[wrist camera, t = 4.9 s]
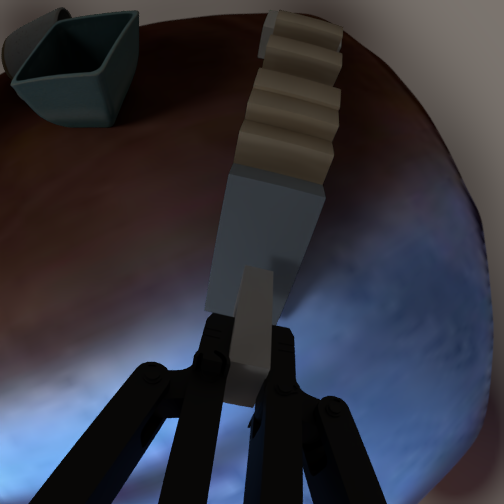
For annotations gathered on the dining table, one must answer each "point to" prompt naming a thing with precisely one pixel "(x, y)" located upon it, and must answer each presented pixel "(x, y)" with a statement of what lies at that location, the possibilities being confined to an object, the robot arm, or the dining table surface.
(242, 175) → the domino
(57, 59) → the flower pot
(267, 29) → the end block
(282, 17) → the domino
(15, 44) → the ceramic mug
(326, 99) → the domino
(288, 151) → the domino
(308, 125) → the domino
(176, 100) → the dining table surface
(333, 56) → the domino
